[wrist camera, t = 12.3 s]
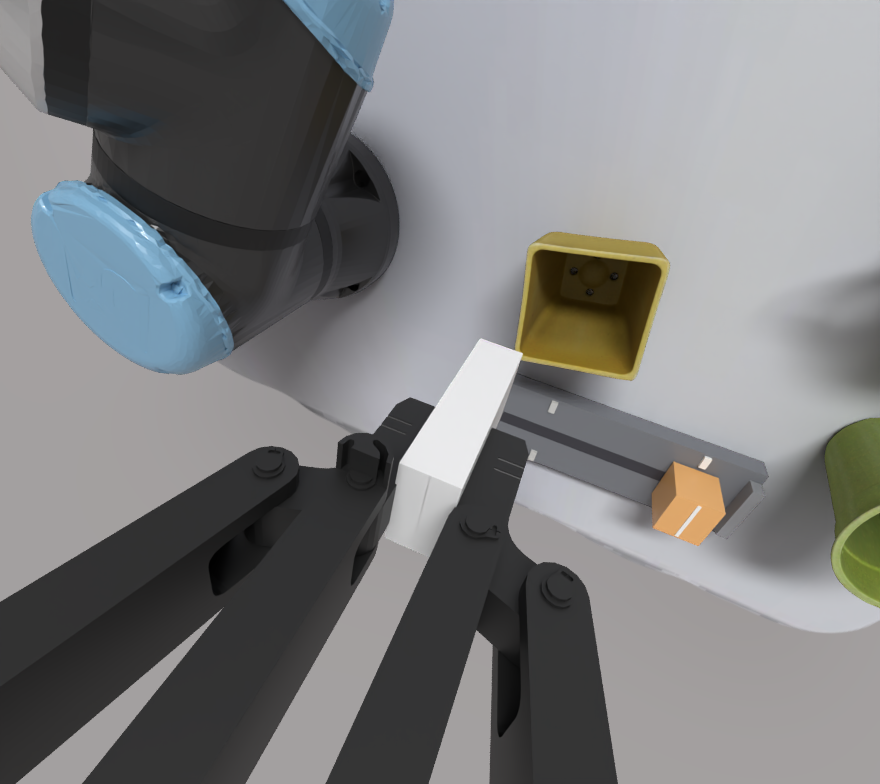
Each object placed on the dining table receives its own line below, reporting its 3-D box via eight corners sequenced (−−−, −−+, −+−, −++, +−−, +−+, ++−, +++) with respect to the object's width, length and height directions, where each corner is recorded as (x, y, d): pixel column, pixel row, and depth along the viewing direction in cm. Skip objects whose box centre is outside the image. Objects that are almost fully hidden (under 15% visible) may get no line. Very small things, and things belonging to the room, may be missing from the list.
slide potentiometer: (472, 424, 51) (462, 443, 48) (491, 364, 47) (481, 381, 44) (716, 518, 47) (721, 545, 44) (763, 462, 42) (772, 488, 39)
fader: (651, 493, 45) (652, 528, 42) (673, 461, 43) (676, 496, 39) (693, 509, 45) (698, 546, 41) (718, 478, 42) (725, 514, 38)
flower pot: (636, 331, 40) (634, 384, 33) (534, 314, 42) (512, 360, 35) (666, 225, 35) (673, 260, 28) (549, 212, 38) (528, 241, 30)
